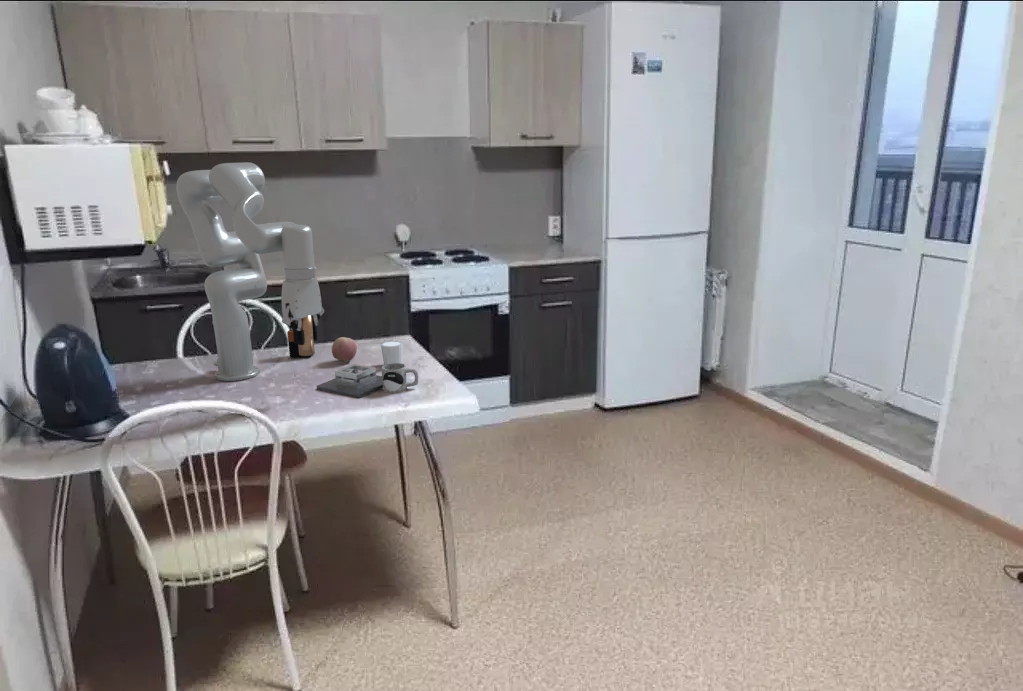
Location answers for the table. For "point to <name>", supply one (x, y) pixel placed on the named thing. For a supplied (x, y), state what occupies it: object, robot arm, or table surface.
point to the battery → (294, 347)
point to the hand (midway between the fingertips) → (305, 341)
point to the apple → (344, 349)
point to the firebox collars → (354, 381)
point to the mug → (397, 377)
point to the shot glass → (392, 352)
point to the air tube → (307, 337)
